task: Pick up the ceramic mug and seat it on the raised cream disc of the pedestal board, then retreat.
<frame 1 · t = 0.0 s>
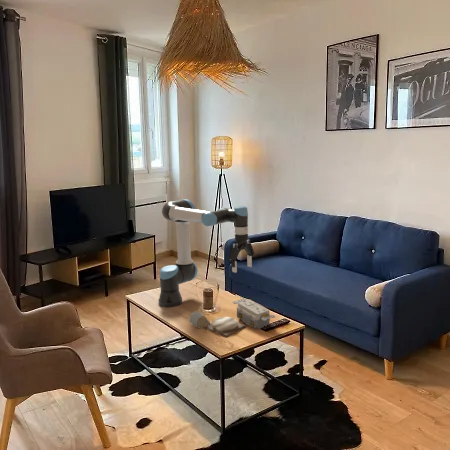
hand: (242, 269, 260), 28 cm above the table, fingers open, 13 cm apart
ceramic mug: (200, 325, 253), on the table
electrical outlet: (253, 322, 255), on the table
pedestal: (224, 328, 249), on the table
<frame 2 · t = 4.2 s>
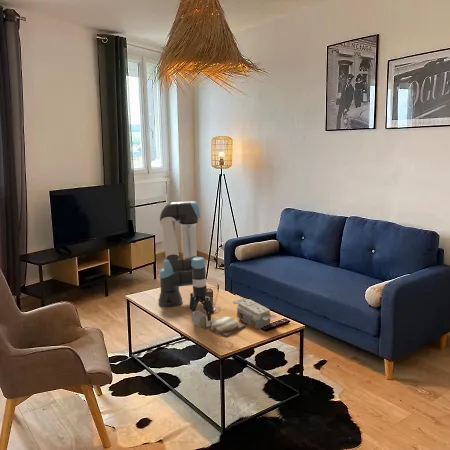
hand: (202, 323, 252), 1 cm above the table, fingers open, 9 cm apart
ceramic mug: (202, 325, 253), on the table, touching gripper
everything else where it was.
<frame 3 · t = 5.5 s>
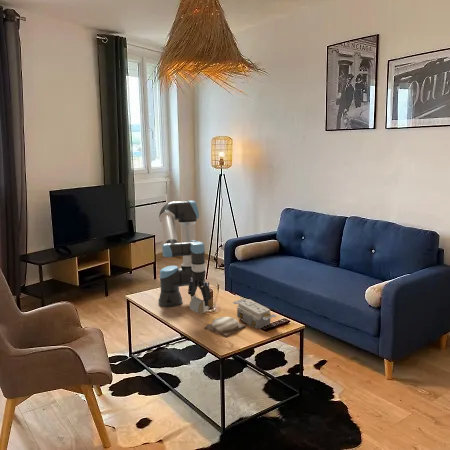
hand: (199, 308, 251), 10 cm above the table, fingers closed on ceramic mug, 8 cm apart
ceramic mug: (200, 311, 253), point 8 cm above the table, touching gripper
everything else where it was.
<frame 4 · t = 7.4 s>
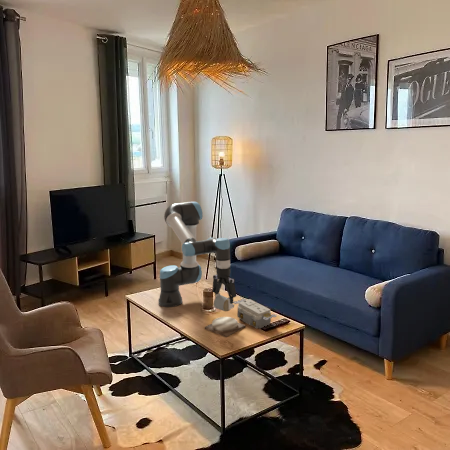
hand: (224, 306, 246), 12 cm above the table, fingers closed on ceramic mug, 8 cm apart
ceramic mug: (225, 309, 247), point 11 cm above the table, touching gripper
everything else where it was.
when the fingers open (5 cm above the table, at t = 9.4 s): ceramic mug stays where it is, resting on pedestal.
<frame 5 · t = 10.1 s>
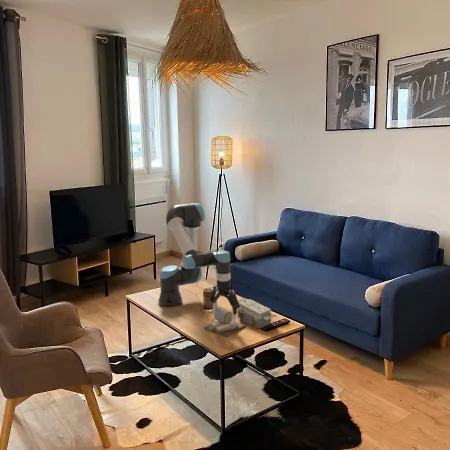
hand: (224, 316, 247), 7 cm above the table, fingers open, 13 cm apart
ceramic mug: (225, 321, 249), point 3 cm above the table, touching pedestal
everything else where it was.
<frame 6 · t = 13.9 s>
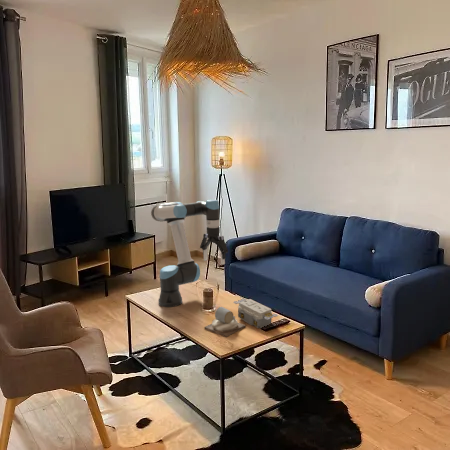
hand: (214, 262, 263), 32 cm above the table, fingers open, 13 cm apart
at the end: ceramic mug 1.4 cm from the pedestal (horizontally); ceramic mug point 3.4 cm above the table; ceramic mug tilted 0° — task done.
